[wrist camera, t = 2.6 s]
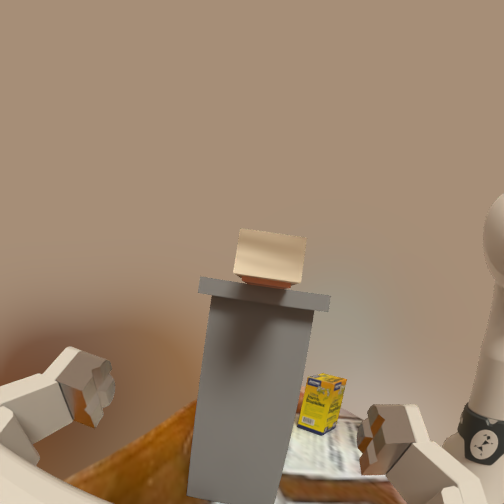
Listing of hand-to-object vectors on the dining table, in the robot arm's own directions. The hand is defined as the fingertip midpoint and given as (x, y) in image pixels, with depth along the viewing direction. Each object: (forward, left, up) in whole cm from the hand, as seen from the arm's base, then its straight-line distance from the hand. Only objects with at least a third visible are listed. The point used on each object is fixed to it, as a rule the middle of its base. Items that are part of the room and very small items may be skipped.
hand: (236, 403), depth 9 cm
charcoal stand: (-15, -25, -22) cm, 36 cm away
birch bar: (-12, -19, +4) cm, 23 cm away
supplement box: (-38, -36, -22) cm, 56 cm away
